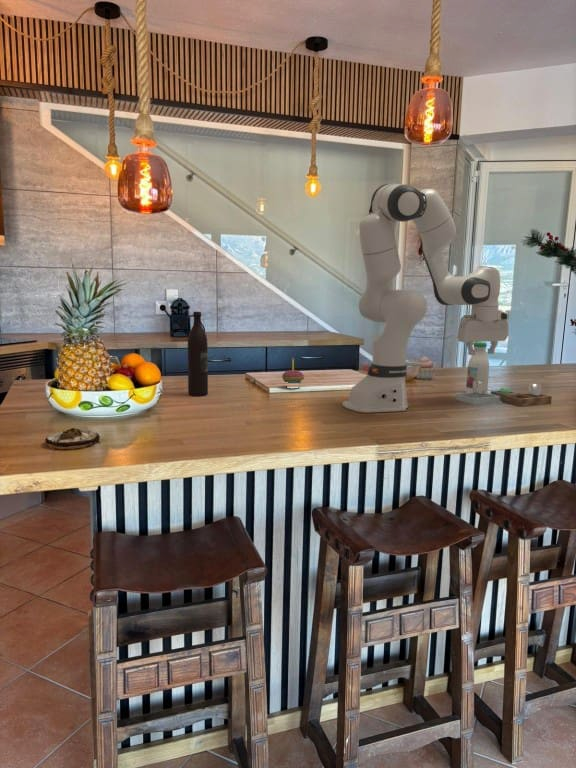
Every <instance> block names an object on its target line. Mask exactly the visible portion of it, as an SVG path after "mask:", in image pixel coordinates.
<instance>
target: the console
mask: <svg viewBox="0 0 576 768" xmlns="http://www.w3.org/2000/svg"><path fill="white" fill-rule="evenodd" d="M490 394H492V395H496V396H500V402H502V396H503V395H510V394H521V393H520V392H516V391H513V390H510V393H507V394H505V393H501V392H500V390H499V389H498V390H491V391H490Z"/></svg>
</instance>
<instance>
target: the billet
mask: <svg viewBox="0 0 576 768" xmlns="http://www.w3.org/2000/svg"><path fill="white" fill-rule="evenodd" d="M484 390H485V381H479V380H475V381H473V390H472V398H483V397H484Z"/></svg>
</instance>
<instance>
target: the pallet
mask: <svg viewBox="0 0 576 768" xmlns="http://www.w3.org/2000/svg"><path fill="white" fill-rule="evenodd" d="M552 397H553V396H551V395H547V394H543V393H541V395H540V397H532V396H528V392H523V393H522V392H521V393H520V394H510V395H503V396H502V401H501V403H503V404H507V405H512V406H515V407H519V408H521V407H530V406H531V407H532V406H541V405H542V406H543V405H552Z"/></svg>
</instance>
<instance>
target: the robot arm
mask: <svg viewBox="0 0 576 768" xmlns="http://www.w3.org/2000/svg"><path fill="white" fill-rule="evenodd" d="M368 213H369V214H368V215H366V216H365V217H364V218H362V219H361V221H360V223H359V230H358V231H359V240H360V249H361V254H362V258H363V264H364V268H365V273H366V287H365V290H364V292H363V294H362V295H361V297H360V298H359V302H358V310H359V313H360V315H361V316H362V317H363V318H365V319H368V320H369V321H372V322H377V323H385V324H384V329H383V330H382V333H381V334H380V335H378V336H377V337H375V339H374V341H373V342H372V344H373V345H372V363H371V364H370V366H369V365H366V364H363V365H362V368H361V370H362V371H363V372H367V375H366V376H365V377H363V378H362V379H361V380H360V381H358V382H357V383H356V384H355V385H353V386H352V387H351V390H350V392H349V397H348V400H345V401H343V402H342V407H344V408H346V409H348V410H351V411H354V412H358V413H382V412H383V413H385V412H388V413H389V412H404V411H406V410H407V408H409V403H408V397H407V391H406V388H407V387H406V378H407V374H408V373H407V372H408V367H407V366H408V364H407V351H408V343H409V338H410V336H411V334H412V332H413V330H414V328H415V327H417V325H418V324H419V323H420V322H421V321H422V320H423V319H424V318H425V316H426V314H427V310H428V303H427V299H426V298H425V296H424V295H423V294H422V293H420V292H417V291H414V290H410V289H395V288H394V278H396V277H397V275H398V274H399V273H400V272H401V268H402V265H401V260H400V255H399V250H398V244H397V239H396V237H395V230H396V229H395V227H396V225H397V222H403V223H404V222H409V221H412V222H413V223H414V225H415V227H416V229H417V231H418V234H419V236H420V238H421V251H422V255H423V258H424V261H425V264H426V267H427V269H428V273H429V275H430V278H431V281H432V282H431V283H432V286H433V288H432V289H433V293H434V297H435V299H436V301H437V302H438V303H439V304H440V305H442V306H453V305H457V306H471V309H470V314H464V315H463V316H462V317H461V318H460V321H459V325H458V330H457V335H456V336H457V337H456V338H457V341H458V342H461V343H465V344H466V348H467V351H468V352H467V354H468V355H469V356H472V355H475V350H474V342H489V344H490V347H489V348H487V354H488V355H494V354H495V350H496V348H497V346H498V343H499V342H505V341H506V340H507V338H508V336H509V322H508V320H509V318H510V314H509V313H507V312H504V311H503V310H500V309H499V306H500V305H499V297H500V293H501V275H500V271H499V270H498V269H497V268H495V267H492V266H486V265H485V266H483V265H480V266H477V267H476V269H475V270H473V271H472V272H471V273H468V274H467V275H463V276H455V275H453V274H451V273H450V272H449V270H448V266H447V264H446V260H445V257H444V253H443V252H444V250H445V249H446V248H448V247H449V246H450V245H451V244H452V243H453V242H454V240H455V237H456V234H457V227H456V223H455V221H454V219H453V216H452V214H451V212H450V210H449V207H447V204H446V202H445V201H444V199H443V198H442V196H441V195H440V194H439V193H438V192H437V190H436V189H433V188H424V189H421V190H419V189H417V187H414V186H412V185H410V184H403V183H397V182H395V183H386V184H383V185H381V186H379V187H377V188H376V189H375V190H374V192H373V193H372V196H371V200H370V206H369V211H368Z"/></svg>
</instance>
